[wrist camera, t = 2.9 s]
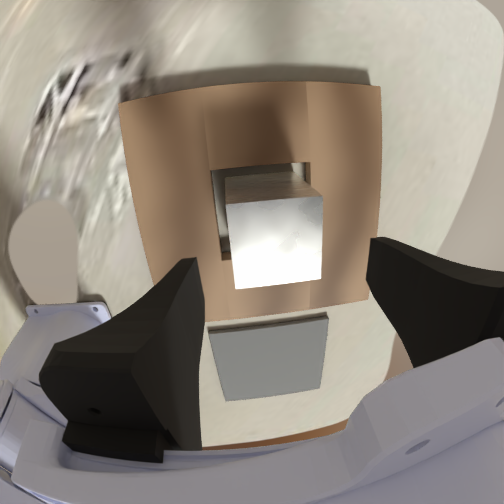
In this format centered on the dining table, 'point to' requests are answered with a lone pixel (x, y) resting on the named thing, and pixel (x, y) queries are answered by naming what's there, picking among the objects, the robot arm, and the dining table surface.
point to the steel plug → (273, 229)
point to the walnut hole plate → (251, 154)
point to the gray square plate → (270, 358)
